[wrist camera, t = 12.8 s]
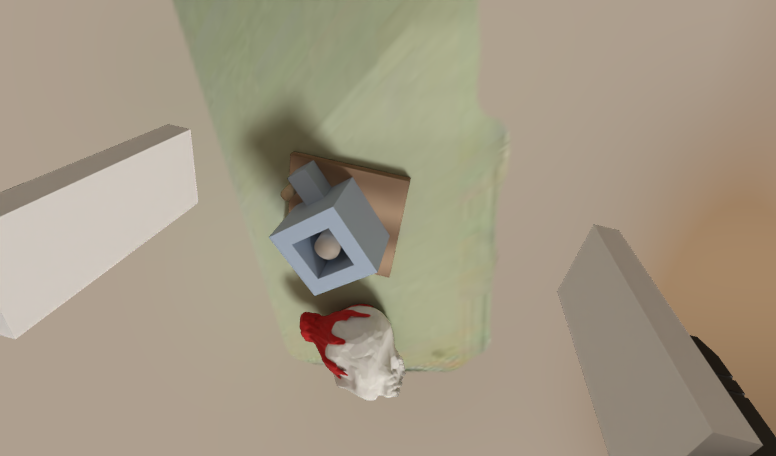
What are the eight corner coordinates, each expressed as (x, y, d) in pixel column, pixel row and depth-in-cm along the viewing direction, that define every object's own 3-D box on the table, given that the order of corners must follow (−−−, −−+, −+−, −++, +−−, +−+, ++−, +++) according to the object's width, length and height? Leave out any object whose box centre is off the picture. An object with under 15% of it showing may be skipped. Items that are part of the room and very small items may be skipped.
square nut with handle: (389, 235, 43) (377, 272, 37) (333, 258, 46) (314, 295, 41) (334, 148, 39) (311, 174, 33) (277, 179, 42) (246, 208, 36)
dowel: (291, 177, 42) (280, 188, 39) (302, 180, 42) (291, 191, 39) (291, 187, 42) (280, 199, 40) (302, 189, 42) (291, 201, 40)
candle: (408, 365, 54) (313, 329, 57) (426, 309, 48) (319, 271, 51) (390, 422, 47) (281, 377, 49) (408, 363, 41) (283, 316, 43)
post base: (293, 151, 41) (264, 176, 35) (410, 177, 40) (401, 207, 35) (290, 248, 48) (265, 282, 42) (390, 272, 47) (379, 311, 41)
